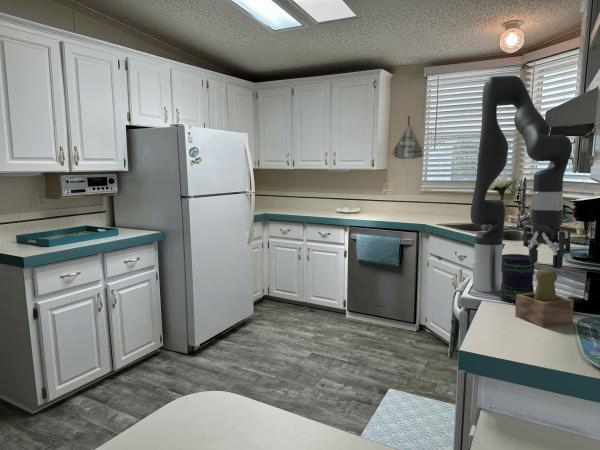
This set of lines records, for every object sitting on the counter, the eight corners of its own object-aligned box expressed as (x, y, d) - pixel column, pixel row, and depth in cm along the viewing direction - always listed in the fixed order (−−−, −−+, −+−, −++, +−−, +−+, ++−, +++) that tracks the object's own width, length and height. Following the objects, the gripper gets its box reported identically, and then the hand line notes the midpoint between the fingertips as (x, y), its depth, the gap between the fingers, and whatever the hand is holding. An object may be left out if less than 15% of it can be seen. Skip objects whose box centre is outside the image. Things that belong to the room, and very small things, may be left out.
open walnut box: (515, 317, 122) (515, 294, 122) (543, 314, 125) (543, 291, 124) (542, 328, 113) (543, 303, 112) (572, 324, 115) (573, 300, 115)
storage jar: (537, 305, 133) (538, 259, 131) (503, 304, 135) (504, 258, 134) (528, 297, 142) (530, 254, 141) (497, 296, 145) (498, 253, 144)
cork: (557, 312, 114) (559, 273, 112) (532, 309, 117) (533, 271, 115) (556, 306, 119) (559, 268, 117) (532, 303, 122) (534, 266, 120)
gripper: (516, 207, 122) (515, 261, 124) (556, 210, 108) (553, 271, 110) (538, 206, 123) (536, 259, 125) (580, 209, 110) (577, 269, 111)
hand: (544, 265), depth 117 cm, fingers open, 8 cm apart
